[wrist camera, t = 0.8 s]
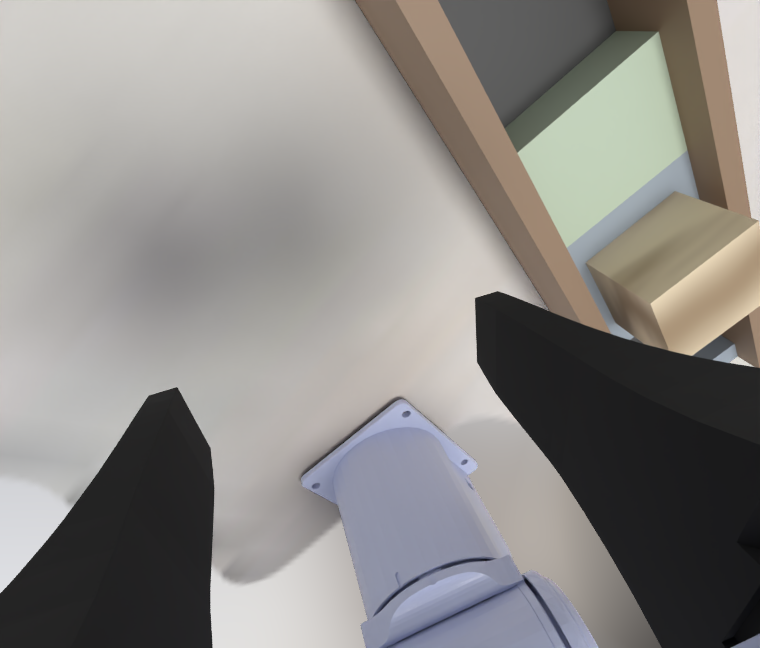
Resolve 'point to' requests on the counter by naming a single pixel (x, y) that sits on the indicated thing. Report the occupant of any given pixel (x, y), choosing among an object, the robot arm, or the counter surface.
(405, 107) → the counter surface
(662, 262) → the maple block
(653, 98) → the trap track
